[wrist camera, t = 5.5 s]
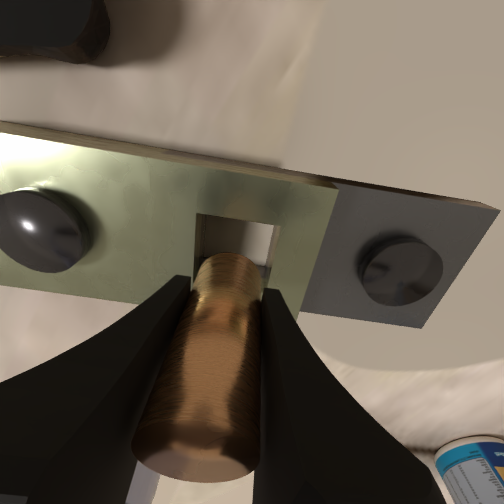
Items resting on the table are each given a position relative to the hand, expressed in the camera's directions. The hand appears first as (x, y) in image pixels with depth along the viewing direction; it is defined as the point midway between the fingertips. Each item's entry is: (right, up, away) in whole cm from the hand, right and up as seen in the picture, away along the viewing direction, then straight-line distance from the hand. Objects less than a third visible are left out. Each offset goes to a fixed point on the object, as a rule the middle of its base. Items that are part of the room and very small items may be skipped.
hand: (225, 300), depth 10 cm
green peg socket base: (0, +3, +6) cm, 7 cm away
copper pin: (0, +1, +2) cm, 2 cm away
